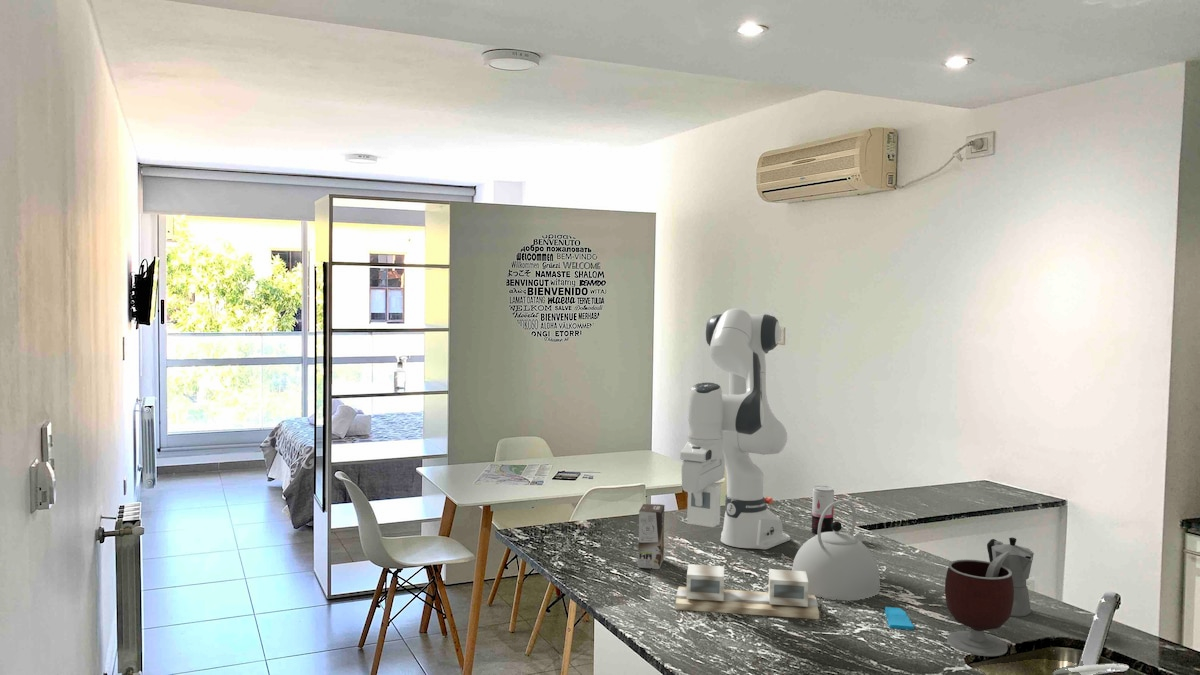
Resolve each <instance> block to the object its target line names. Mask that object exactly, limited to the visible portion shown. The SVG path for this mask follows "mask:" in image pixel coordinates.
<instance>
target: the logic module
mask: <svg viewBox="0 0 1200 675" xmlns="http://www.w3.org/2000/svg"><path fill="white" fill-rule="evenodd" d="M721 486H722V485H721V483H718V482H715V483H713V484H711V485H709V486H707V487H706V488H704V489H703V493H702V496H703V498H704V505H702V506H696V505H695V497H694V494H693V493H691V492H687V508H686V509H687V510H686V513H687V515H686V516H687V517H686V524H688V525H689V524H690V525H695V526H696V525H697V526H703V527H708V528H715V527H716V526H718V525H719V524H721V497H722V496H721V489H722V487H721Z"/></svg>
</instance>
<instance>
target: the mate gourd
mask: <svg viewBox="0 0 1200 675" xmlns="http://www.w3.org/2000/svg"><path fill="white" fill-rule="evenodd" d="M1007 555H1010V553H1009V552H1008V551H1007V552H1005V553H1003V554H1001V555H1000V556H998V557H996V558H995V559H994V560H993V561H992V562H990V561H986V560H978V559H956V560H953V561H950V562H949V563H948V568H947V571H946V575H945V581H944V596H945V603H946V607H947V610H948V612H950V614H951V615H952V617H953V619H954V620H955V621H956V622H958V623H960V624H961V625H964V626H965V627H968V628H969V629H970V630H958V631H957V630H956V631H953V632H950V633H949V634H947V637H946V641H947V643H948V644H949V645H950V646H951V647H952V648H954V649H956V650H958V651H960V652H962V651H963V652H962V653H965V652H966V654H969V653H971V654H970V655H974V656H979V657H982V656H983V657H998V656H999V657H1000V656H1003V655H1005V654H1006V653H1007V652H1008V647H1009V646H1008V644H1007V642H1006V641H1004V640H1002V639H1001V638H1000V637H997V636H995V635H992V634H988V633H986V632H985V631H988V630H995V629H1000V628H1001V627H1002V626H1003V625H1004V624H1005V623H1006V622H1007V621H1008V620H1009V619H1010V618H1011V616H1010V615H1011V612H1012V607H1013V601H1014V586H1013V579H1012V572H1011V570H1009V569H1008V568H1006V567H1004V566H1002V563H1003V561H1004V559H1005V558H1006V557H1007Z"/></svg>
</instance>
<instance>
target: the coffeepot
mask: <svg viewBox="0 0 1200 675" xmlns="http://www.w3.org/2000/svg"><path fill="white" fill-rule="evenodd" d="M1008 539H1009V540H1008V541H1009V544H1008V543H1004V542H1002V541H999V540H996V539H994V538H992V539H990V540H989V541H988V542H987V544H986V549H987V553H988V559H989V560H988V561H989V562H992V561H993V560H994V559H995V558H996V557H998V556H1000V555H1001V554H1003V553H1005V552H1007V551H1008V552H1009V553H1010V555H1007V557H1006V558H1005V559H1004V561H1003V563H1002V566H1004V567H1006V568H1008V569H1009V570H1011V572H1012V579H1013V586H1014V601H1013V607H1012V612H1011V615H1010V617H1019V618H1020V617H1026V616H1029V615H1030V614H1031V613H1032V610H1031V602H1030V597H1029V596H1030V595H1029V588H1028V586H1027V580H1028V579H1029V578H1030V575H1031V574H1030V573H1031V569H1032V563H1033V560H1034V555H1035V553H1034V552H1033V551H1032V550H1031V549H1030V548H1027V547H1023V546H1019V545H1016V543H1017V538H1016V537H1009V538H1008Z"/></svg>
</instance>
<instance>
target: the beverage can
mask: <svg viewBox="0 0 1200 675" xmlns="http://www.w3.org/2000/svg"><path fill="white" fill-rule="evenodd" d="M811 502H812V508H811V510H812V512H811V533H812V535H814V536H816V535H818V524H819V520H820V517H821V515H822V513H823V511H824V510H825V509H826V507H827V506H829V505H830V504H831V503H833V502H835V490H834V487H833V486H827V485H815V486H813V489H812V501H811ZM834 510H835V508H834V506H833V507H831V508H830V509H829V510H828V511H827V513H826V515H825V516H824V519H823V522H822V526H821V533H823V532H834V530H833V529H832V523H833V522H834Z"/></svg>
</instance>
